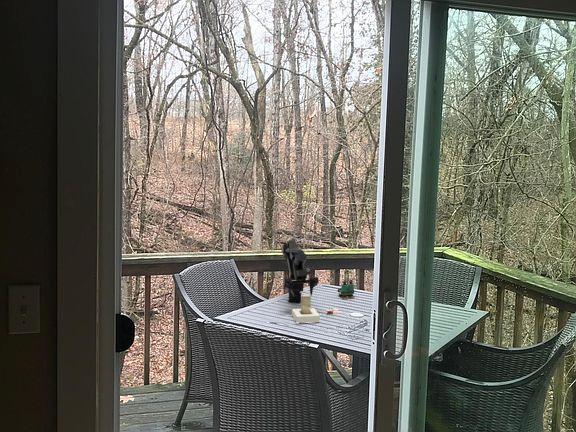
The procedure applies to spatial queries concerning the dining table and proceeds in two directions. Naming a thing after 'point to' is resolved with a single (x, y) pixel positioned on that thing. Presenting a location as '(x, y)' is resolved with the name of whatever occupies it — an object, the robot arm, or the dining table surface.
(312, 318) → the square ring frame
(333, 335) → the dining table surface
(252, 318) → the dining table surface
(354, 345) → the dining table surface
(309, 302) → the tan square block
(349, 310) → the dining table surface
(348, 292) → the green boxy toy
